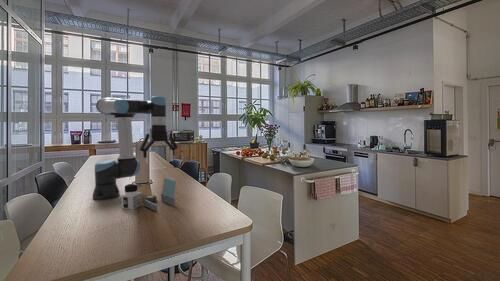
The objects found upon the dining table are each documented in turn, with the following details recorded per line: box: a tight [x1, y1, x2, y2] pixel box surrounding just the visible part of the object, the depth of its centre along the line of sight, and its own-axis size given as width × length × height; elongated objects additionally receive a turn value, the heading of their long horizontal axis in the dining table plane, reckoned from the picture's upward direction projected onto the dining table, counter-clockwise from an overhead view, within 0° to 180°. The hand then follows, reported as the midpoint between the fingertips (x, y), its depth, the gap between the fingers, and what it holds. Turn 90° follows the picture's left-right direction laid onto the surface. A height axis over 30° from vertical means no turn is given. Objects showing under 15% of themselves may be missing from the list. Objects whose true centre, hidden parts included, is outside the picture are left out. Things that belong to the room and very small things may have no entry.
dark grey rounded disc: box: [143, 194, 158, 204], centre depth 149 cm, size 7×7×3 cm
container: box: [120, 183, 143, 210], centre depth 139 cm, size 8×8×13 cm
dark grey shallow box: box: [143, 193, 176, 212], centre depth 141 cm, size 14×12×5 cm
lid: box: [161, 177, 177, 199], centre depth 146 cm, size 12×11×1 cm
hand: (159, 162), depth 136 cm, fingers open, 13 cm apart
